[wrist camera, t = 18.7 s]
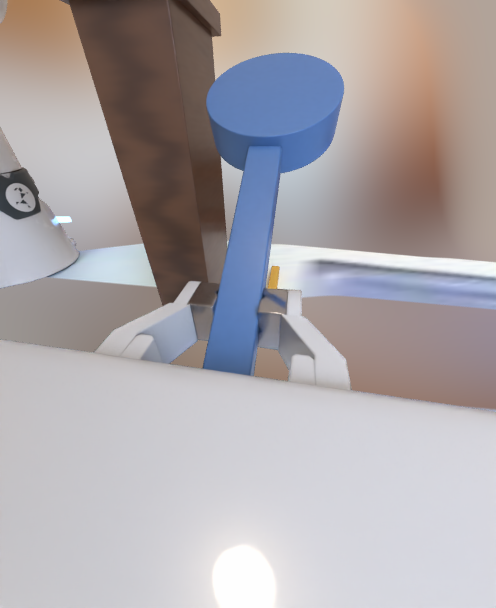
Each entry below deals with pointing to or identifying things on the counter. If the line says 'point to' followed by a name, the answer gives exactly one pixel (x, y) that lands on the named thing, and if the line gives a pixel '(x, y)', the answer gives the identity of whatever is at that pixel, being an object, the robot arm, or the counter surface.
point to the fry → (274, 277)
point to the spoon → (262, 178)
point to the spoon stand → (162, 127)
